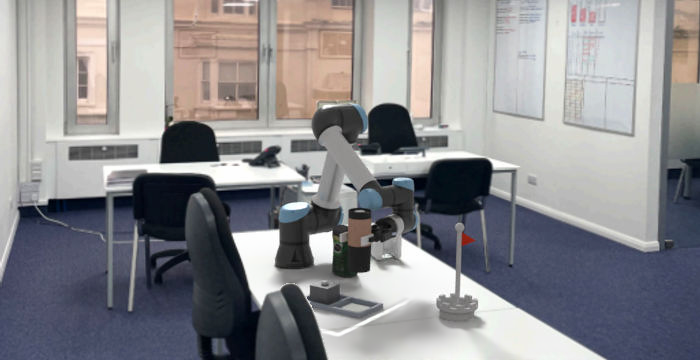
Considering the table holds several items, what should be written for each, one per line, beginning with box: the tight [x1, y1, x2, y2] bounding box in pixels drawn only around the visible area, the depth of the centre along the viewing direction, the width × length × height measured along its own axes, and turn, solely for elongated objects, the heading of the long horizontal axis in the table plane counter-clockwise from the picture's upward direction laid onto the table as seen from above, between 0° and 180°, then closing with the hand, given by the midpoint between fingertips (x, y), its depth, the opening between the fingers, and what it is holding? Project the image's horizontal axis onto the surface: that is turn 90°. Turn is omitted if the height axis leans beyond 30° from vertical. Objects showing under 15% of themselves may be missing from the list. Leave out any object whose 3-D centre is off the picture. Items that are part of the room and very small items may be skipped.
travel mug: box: [347, 207, 372, 274], centre depth 264 cm, size 8×8×20 cm
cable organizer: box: [371, 234, 403, 261], centre depth 326 cm, size 15×11×12 cm
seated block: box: [309, 279, 341, 305], centre depth 265 cm, size 7×7×7 cm
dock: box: [305, 293, 384, 320], centre depth 263 cm, size 25×13×2 cm, turn 55°
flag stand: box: [436, 222, 479, 322], centre depth 255 cm, size 13×13×30 cm
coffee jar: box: [331, 223, 359, 278], centre depth 300 cm, size 10×8×19 cm
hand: (351, 240), depth 260 cm, fingers closed on travel mug, 7 cm apart
